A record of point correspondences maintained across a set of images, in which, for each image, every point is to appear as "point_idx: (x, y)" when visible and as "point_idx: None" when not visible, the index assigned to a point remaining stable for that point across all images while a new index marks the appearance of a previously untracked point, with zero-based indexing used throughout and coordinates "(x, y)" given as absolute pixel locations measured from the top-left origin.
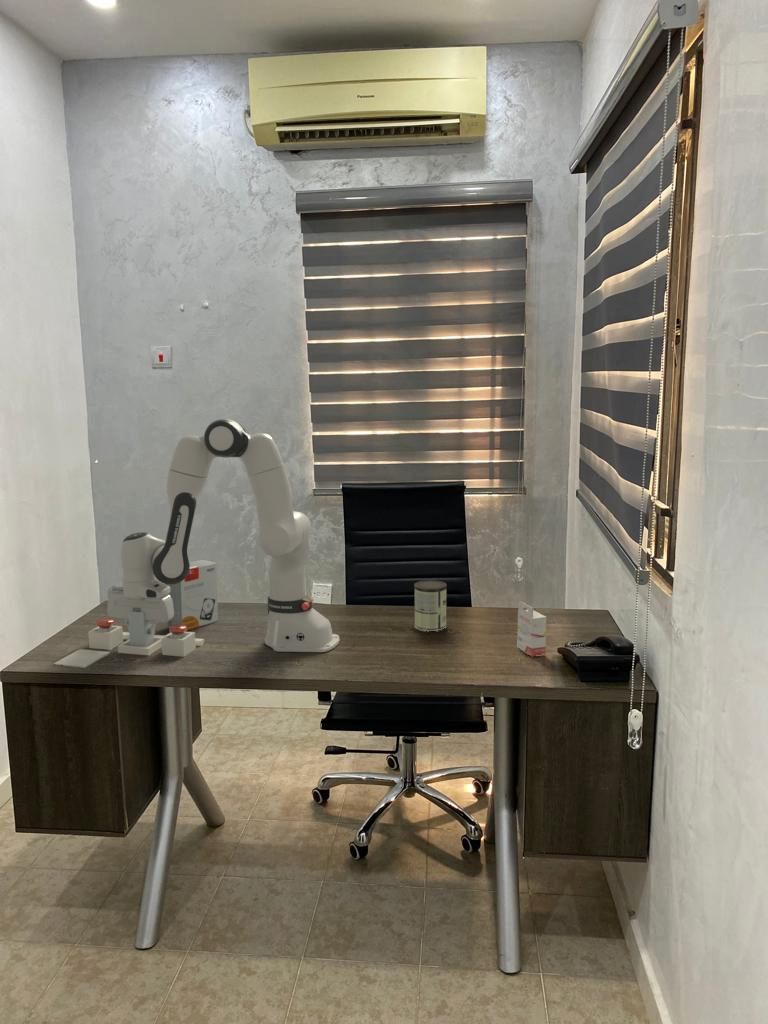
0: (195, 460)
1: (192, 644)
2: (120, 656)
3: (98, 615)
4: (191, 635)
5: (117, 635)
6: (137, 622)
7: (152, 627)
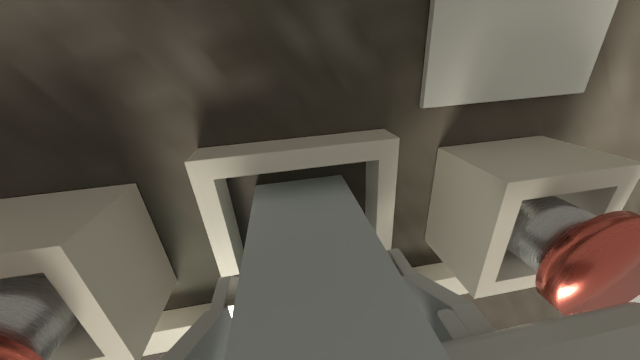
0: None
1: None
2: (339, 83)
3: None
4: None
5: (460, 234)
6: (309, 324)
7: (192, 328)
